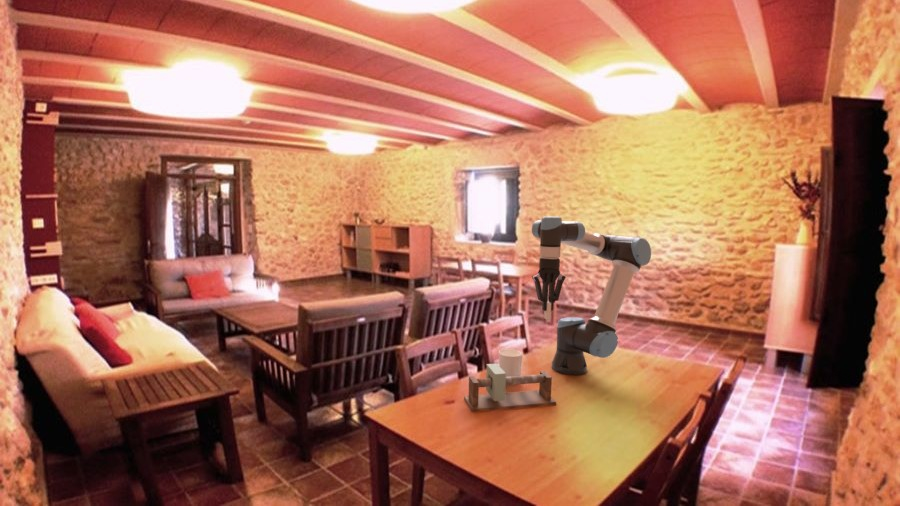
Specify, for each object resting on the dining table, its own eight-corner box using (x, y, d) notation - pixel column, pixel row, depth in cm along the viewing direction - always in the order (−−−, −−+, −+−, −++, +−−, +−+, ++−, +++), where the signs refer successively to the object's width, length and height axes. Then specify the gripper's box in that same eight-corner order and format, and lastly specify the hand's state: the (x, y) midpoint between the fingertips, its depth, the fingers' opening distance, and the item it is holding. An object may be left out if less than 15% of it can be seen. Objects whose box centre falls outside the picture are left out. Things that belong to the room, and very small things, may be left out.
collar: (496, 389, 169) (496, 363, 168) (504, 400, 159) (505, 373, 158) (485, 389, 168) (486, 364, 167) (494, 401, 158) (495, 374, 157)
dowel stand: (543, 392, 174) (544, 368, 173) (556, 404, 163) (557, 379, 162) (464, 398, 167) (464, 373, 166) (471, 412, 156) (472, 385, 155)
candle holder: (520, 376, 190) (521, 349, 188) (522, 385, 180) (523, 357, 179) (497, 375, 191) (498, 348, 189) (497, 384, 181) (498, 355, 180)
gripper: (561, 256, 173) (558, 315, 176) (529, 256, 170) (527, 317, 173) (570, 258, 166) (567, 320, 168) (537, 259, 163) (535, 322, 165)
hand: (547, 318), depth 170 cm, fingers closed
